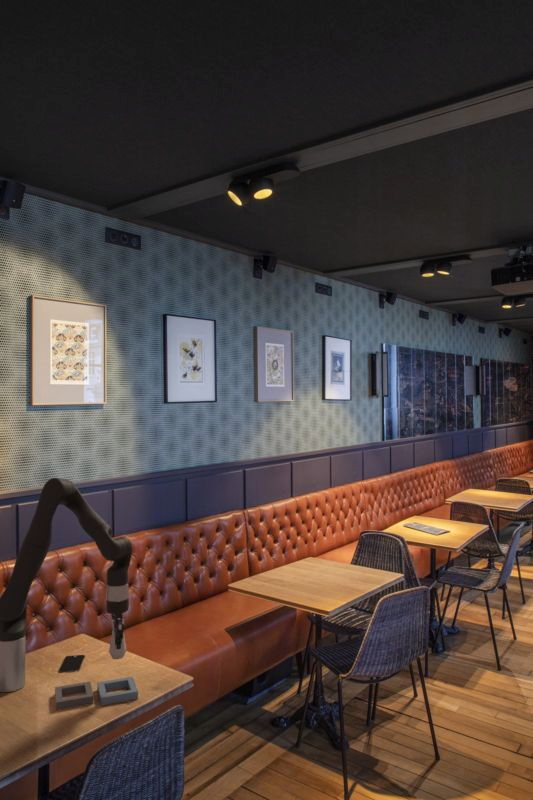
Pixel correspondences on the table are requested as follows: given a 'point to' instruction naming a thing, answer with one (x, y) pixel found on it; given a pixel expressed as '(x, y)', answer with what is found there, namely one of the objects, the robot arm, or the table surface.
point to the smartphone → (72, 663)
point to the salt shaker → (118, 652)
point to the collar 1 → (75, 700)
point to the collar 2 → (118, 696)
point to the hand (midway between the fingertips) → (117, 647)
